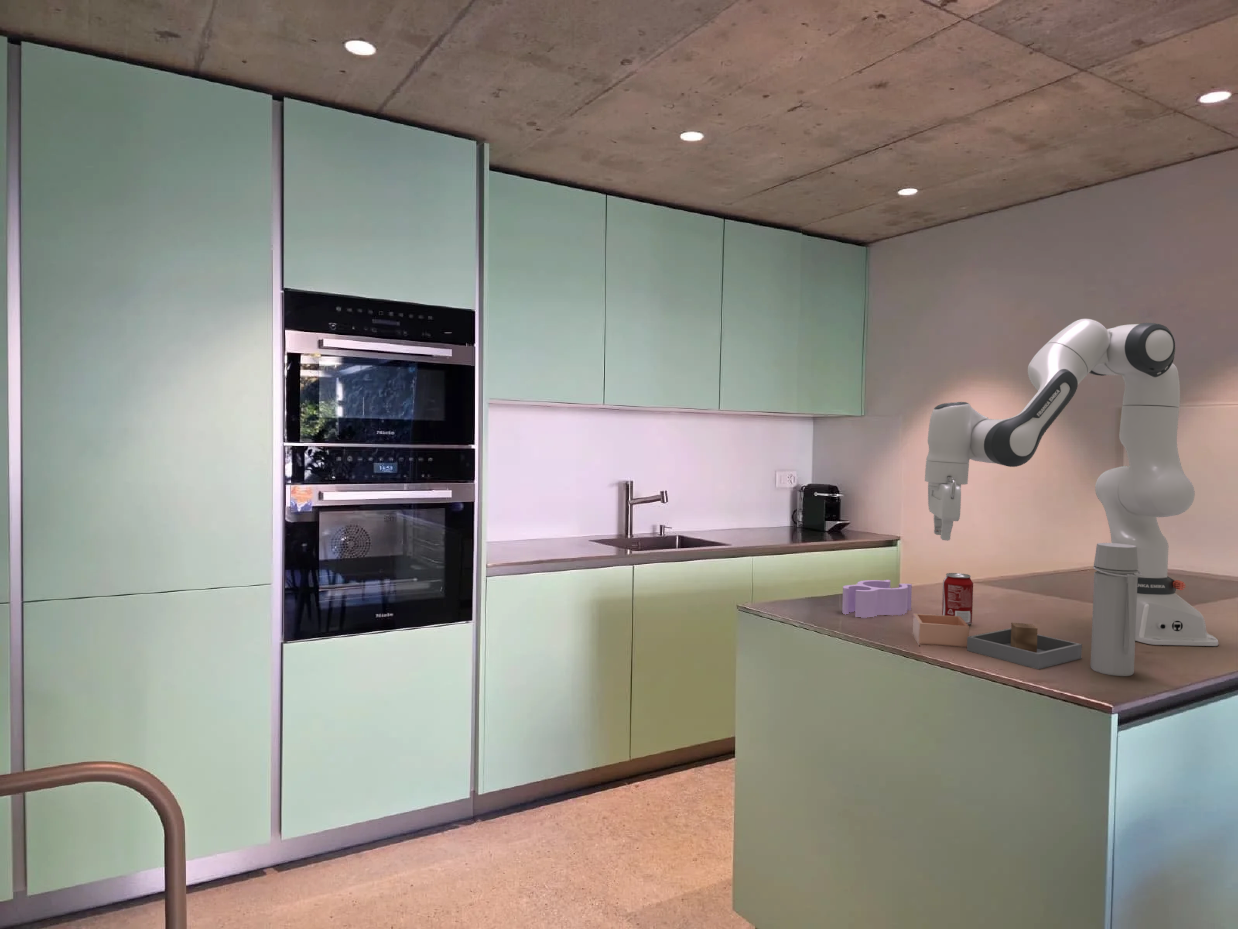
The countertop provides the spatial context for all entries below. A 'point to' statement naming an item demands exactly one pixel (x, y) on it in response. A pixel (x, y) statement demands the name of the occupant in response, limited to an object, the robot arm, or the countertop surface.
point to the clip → (876, 598)
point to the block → (1024, 636)
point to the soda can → (958, 596)
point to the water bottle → (1114, 609)
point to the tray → (1046, 656)
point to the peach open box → (940, 630)
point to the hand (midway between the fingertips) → (941, 537)
